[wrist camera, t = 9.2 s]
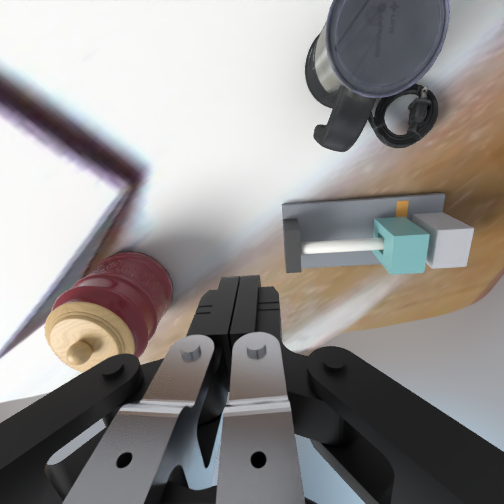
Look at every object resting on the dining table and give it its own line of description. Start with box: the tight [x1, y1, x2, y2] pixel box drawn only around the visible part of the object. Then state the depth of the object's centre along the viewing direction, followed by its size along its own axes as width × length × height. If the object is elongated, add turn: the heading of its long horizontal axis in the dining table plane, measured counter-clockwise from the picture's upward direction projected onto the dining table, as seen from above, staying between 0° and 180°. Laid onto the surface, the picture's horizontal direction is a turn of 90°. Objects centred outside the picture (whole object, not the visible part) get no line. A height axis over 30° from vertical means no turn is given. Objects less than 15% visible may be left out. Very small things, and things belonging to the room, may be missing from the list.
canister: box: [45, 252, 173, 372], centre depth 42 cm, size 13×13×18 cm
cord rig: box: [282, 193, 474, 273], centre depth 40 cm, size 10×22×8 cm, turn 95°
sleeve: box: [372, 217, 430, 274], centre depth 39 cm, size 5×4×7 cm
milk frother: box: [305, 0, 450, 152], centre depth 30 cm, size 14×16×15 cm
